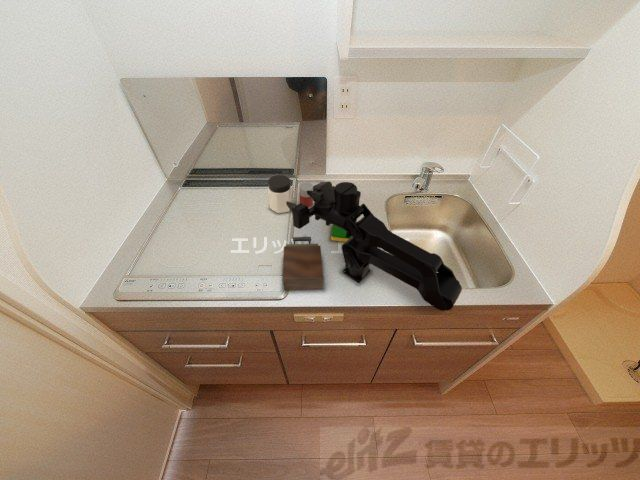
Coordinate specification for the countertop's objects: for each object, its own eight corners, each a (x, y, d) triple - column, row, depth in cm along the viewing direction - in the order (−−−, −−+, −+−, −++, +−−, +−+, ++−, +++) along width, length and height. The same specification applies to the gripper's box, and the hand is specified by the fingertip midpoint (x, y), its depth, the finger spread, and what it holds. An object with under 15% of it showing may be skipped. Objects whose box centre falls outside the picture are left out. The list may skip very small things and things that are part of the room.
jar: (288, 215, 103) (286, 189, 94) (267, 212, 104) (264, 186, 95) (294, 201, 109) (293, 175, 100) (274, 198, 110) (272, 172, 101)
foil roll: (315, 207, 107) (316, 186, 100) (306, 213, 104) (306, 192, 97) (306, 201, 109) (306, 180, 102) (296, 207, 106) (296, 186, 99)
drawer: (287, 243, 91) (286, 234, 88) (316, 243, 92) (317, 234, 89) (286, 281, 80) (285, 272, 77) (319, 280, 81) (320, 271, 78)
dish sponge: (370, 245, 94) (371, 240, 92) (331, 240, 94) (331, 235, 93) (370, 231, 99) (371, 226, 97) (332, 226, 99) (333, 221, 98)
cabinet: (284, 258, 88) (283, 246, 83) (319, 257, 89) (320, 245, 84) (283, 290, 79) (282, 278, 75) (322, 289, 80) (323, 277, 76)
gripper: (357, 178, 77) (316, 163, 85) (315, 203, 66) (272, 184, 74) (354, 211, 84) (316, 194, 92) (315, 239, 73) (275, 217, 81)
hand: (297, 197), depth 84 cm, fingers open, 9 cm apart
